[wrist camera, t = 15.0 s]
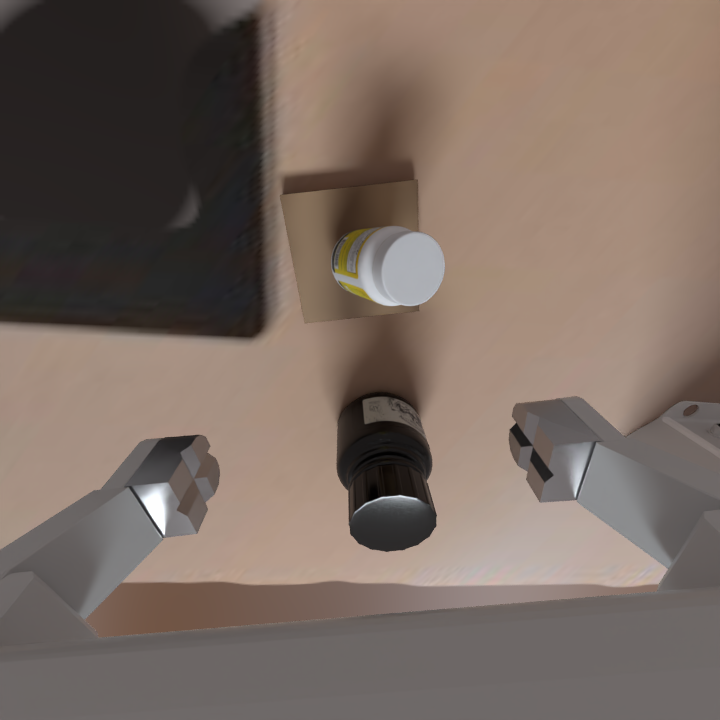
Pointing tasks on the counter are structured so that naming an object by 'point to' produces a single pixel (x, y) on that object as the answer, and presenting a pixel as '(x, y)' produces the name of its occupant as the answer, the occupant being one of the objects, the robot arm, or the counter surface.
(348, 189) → the tan slab
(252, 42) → the counter surface
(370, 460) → the ink bottle
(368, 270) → the supplement bottle
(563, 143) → the counter surface
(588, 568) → the counter surface
